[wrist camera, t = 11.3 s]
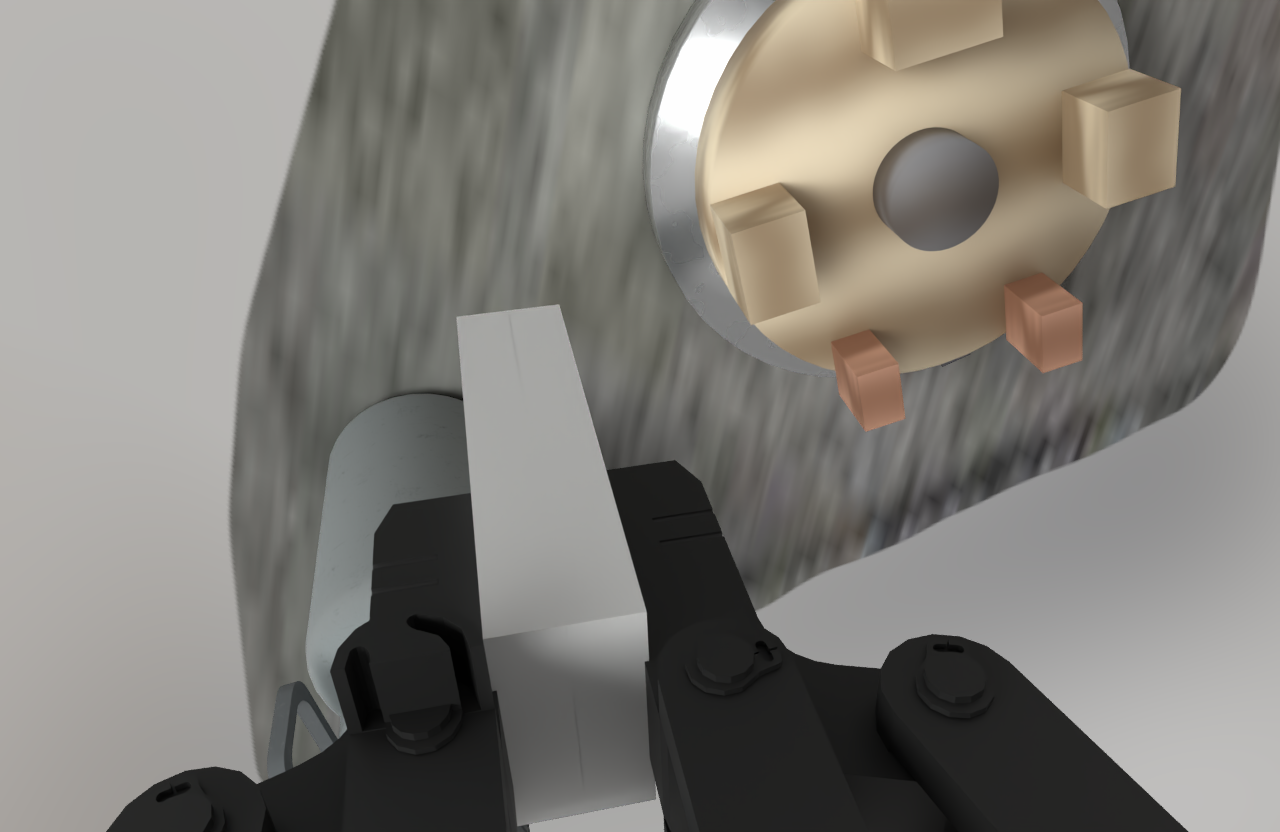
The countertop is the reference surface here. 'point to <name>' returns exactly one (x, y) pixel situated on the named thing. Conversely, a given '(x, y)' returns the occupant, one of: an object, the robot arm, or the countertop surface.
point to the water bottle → (366, 538)
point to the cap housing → (670, 160)
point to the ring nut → (922, 178)
